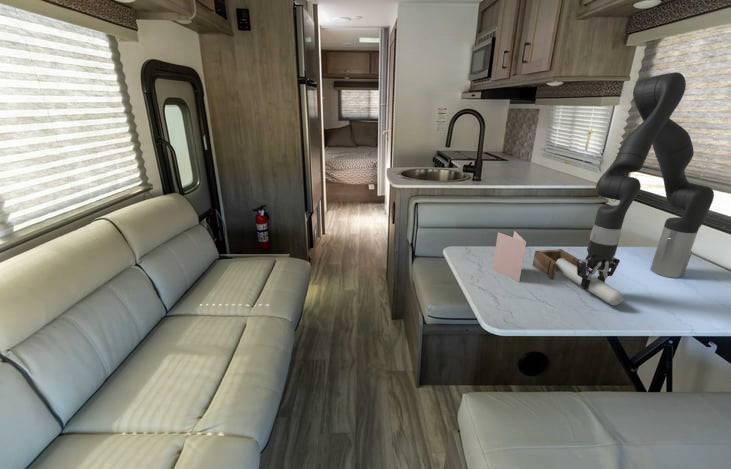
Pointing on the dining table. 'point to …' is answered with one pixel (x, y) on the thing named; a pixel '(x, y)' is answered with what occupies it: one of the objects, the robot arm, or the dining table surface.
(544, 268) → the socket block
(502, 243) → the greeting card
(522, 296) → the dining table surface
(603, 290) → the tube
